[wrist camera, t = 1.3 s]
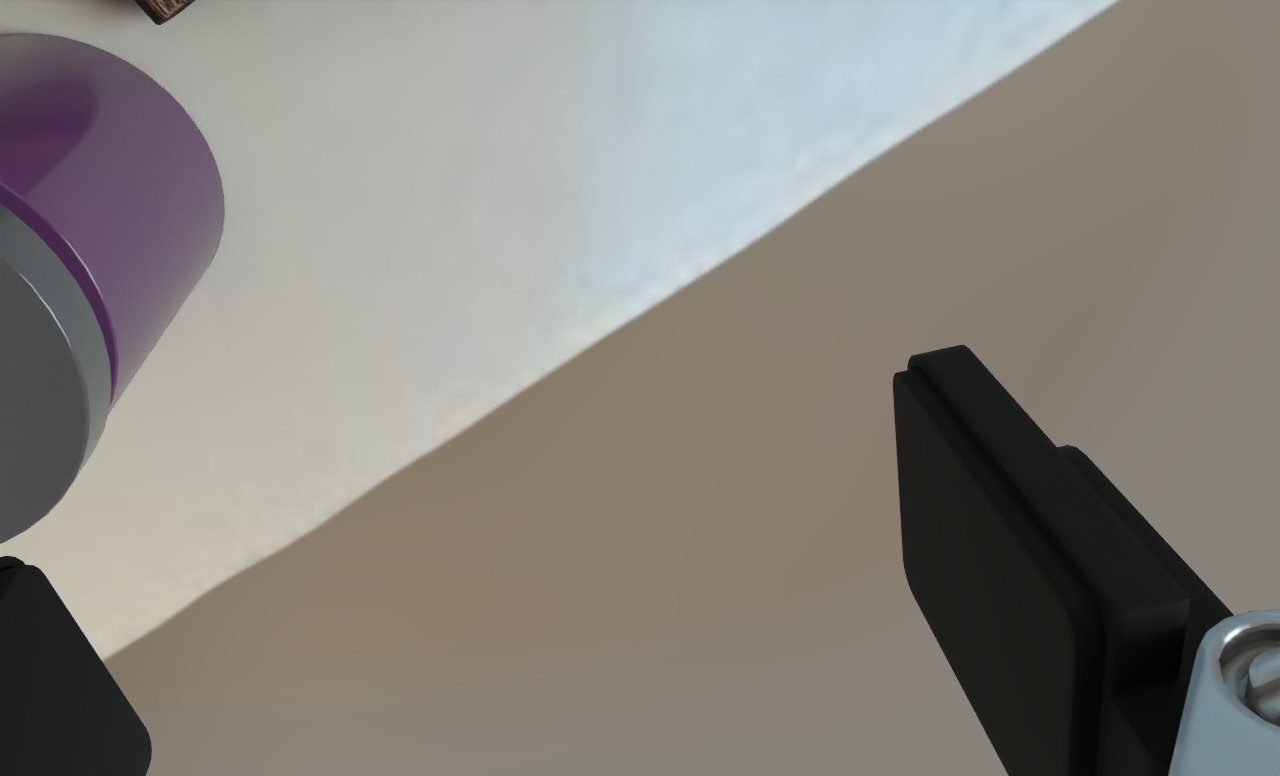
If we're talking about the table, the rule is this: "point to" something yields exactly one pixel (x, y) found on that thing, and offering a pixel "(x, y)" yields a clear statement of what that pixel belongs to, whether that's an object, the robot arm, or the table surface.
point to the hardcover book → (163, 8)
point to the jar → (86, 251)
